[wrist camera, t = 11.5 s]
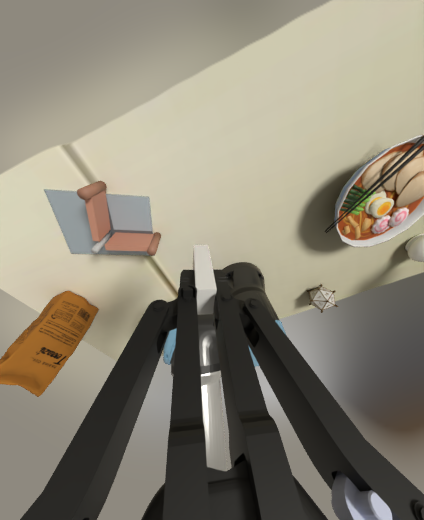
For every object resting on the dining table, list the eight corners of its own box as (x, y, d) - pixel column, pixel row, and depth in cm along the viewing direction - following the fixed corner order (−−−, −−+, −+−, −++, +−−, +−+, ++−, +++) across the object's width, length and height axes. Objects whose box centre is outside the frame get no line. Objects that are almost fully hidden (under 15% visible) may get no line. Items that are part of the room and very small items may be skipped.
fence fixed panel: (161, 239, 43) (156, 256, 36) (107, 237, 41) (92, 254, 34) (160, 232, 42) (155, 248, 35) (106, 230, 40) (89, 246, 33)
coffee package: (81, 321, 56) (30, 404, 38) (45, 299, 49) (-38, 388, 31) (104, 310, 55) (63, 392, 37) (70, 286, 48) (-2, 372, 30)
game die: (305, 280, 63) (316, 285, 53) (330, 285, 61) (347, 290, 51) (300, 304, 63) (311, 312, 53) (325, 309, 62) (340, 319, 52)
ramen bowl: (339, 250, 51) (361, 266, 45) (294, 208, 42) (314, 220, 35) (429, 177, 41) (476, 183, 35) (397, 100, 32) (452, 88, 25)
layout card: (155, 254, 45) (154, 255, 45) (71, 252, 42) (71, 253, 42) (149, 196, 37) (148, 197, 36) (45, 189, 34) (44, 189, 34)
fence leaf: (103, 228, 39) (88, 243, 33) (95, 180, 33) (75, 187, 28) (112, 229, 39) (98, 244, 33) (105, 181, 34) (88, 189, 28)
